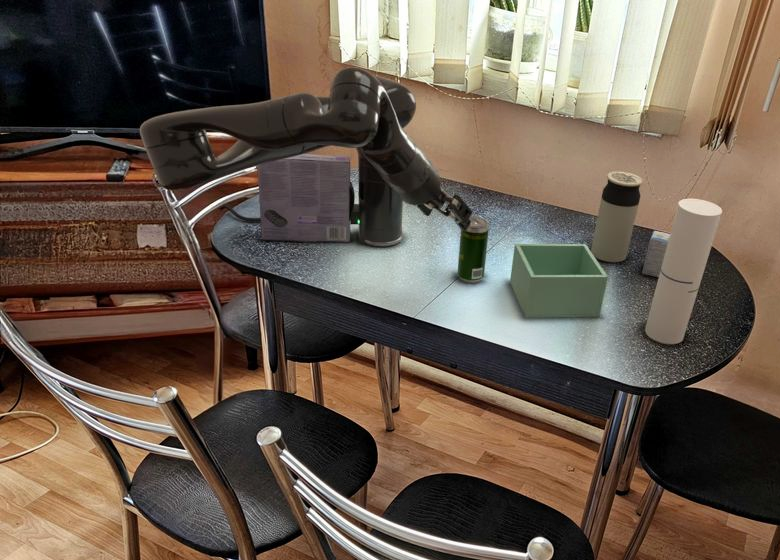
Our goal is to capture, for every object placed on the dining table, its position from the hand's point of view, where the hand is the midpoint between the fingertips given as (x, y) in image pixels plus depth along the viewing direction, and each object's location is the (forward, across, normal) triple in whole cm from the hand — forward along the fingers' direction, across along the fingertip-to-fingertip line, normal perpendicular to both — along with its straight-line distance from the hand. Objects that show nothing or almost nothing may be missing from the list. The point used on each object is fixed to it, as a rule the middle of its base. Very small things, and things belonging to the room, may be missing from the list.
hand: (448, 218), depth 123 cm
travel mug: (+39, +15, +17) cm, 45 cm away
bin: (+20, +17, -1) cm, 26 cm away
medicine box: (+39, +28, +18) cm, 51 cm away
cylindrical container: (+23, +39, +2) cm, 45 cm away
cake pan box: (+10, -35, -12) cm, 38 cm away
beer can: (+17, 0, -5) cm, 18 cm away
